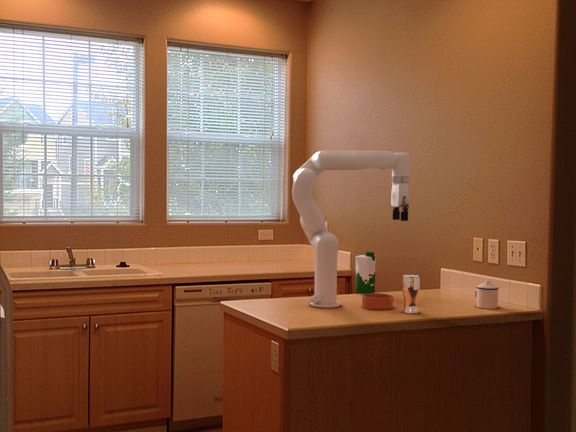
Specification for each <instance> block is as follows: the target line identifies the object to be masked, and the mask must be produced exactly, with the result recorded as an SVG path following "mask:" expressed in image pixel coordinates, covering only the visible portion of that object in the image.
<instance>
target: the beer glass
mask: <svg viewBox="0 0 576 432" xmlns="http://www.w3.org/2000/svg"><path fill="white" fill-rule="evenodd" d="M420 279H421V278H420V275H417V274H404V275H402V297H403V309H402V312H403V313H404V314H407V315H408V314H409V315H416V314H418V313H419V307H418V302H419V295H420V291H421V280H420Z"/></svg>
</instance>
